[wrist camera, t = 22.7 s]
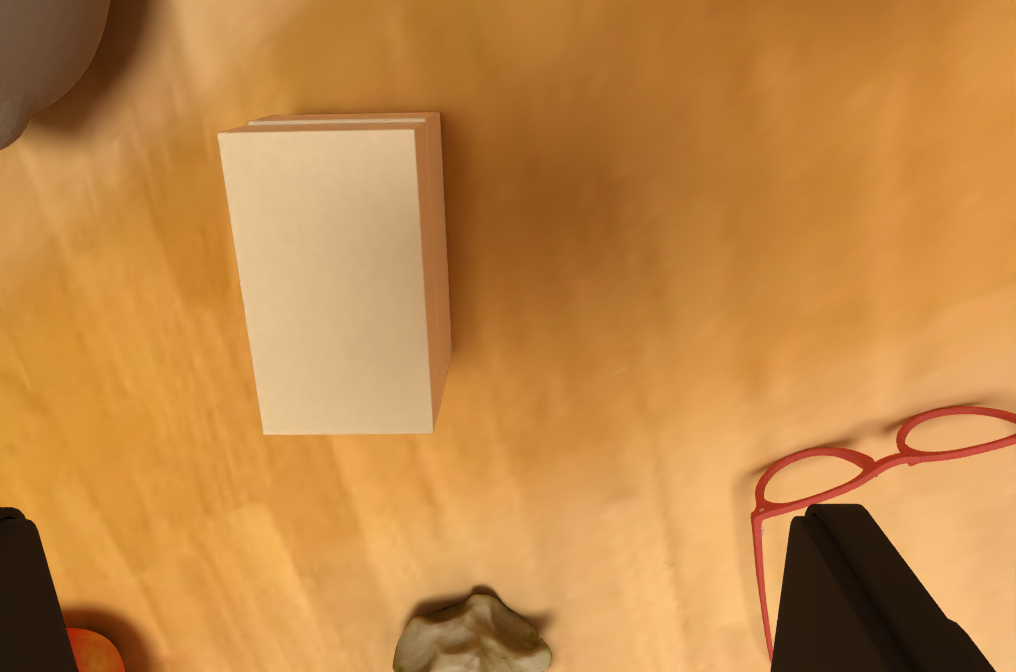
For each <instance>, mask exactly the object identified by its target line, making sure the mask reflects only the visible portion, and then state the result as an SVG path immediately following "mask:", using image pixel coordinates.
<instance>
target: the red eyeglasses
mask: <svg viewBox="0 0 1016 672" xmlns="http://www.w3.org/2000/svg"><path fill="white" fill-rule="evenodd" d="M955 414H976V415H985V416H991V417H996V418H1000V419H1004V420H1007V421H1010V422H1012V423H1015V424H1016V414H1014V413H1010V412H1007V411H1003V410H998V409H992V408H984V407H950V408H942V409H937V410H933V411H929V412H926V413H923V414H920V415H918V416H916V417H914V418H912V419H910V420H909V421H907V422H906V423H905V424H904V425H903V426H902V427H901V428H900V429H899V431H898V434H897V438H896V442H897V447H898V450H899V451H900V453H898V454H893V455H890V456H887V457H885V458H882V459H880V460H878V461H876V462H874V459H873V458H871V457H869V456H867V455H865V454H862V453H860V452H857V451H854V450H849V449H844V448H834V447H827V448H815V449H809V450H805V451H801V452H798V453H795V454H792V455H790V456H788V457H785V458H784V459H782V460H780V461H778V462H777V463H775V464H774V465H773V466H771V467H770V468H769V469H768V470H767V471H766V472H765V473H764V474H763V475H762V477H761V478H760V480H759V481H758V484H757V486H756V490H755V498H756V508H755V510H754V511H753V512H752V513H751V523H752V532H753V543H754V555H755V566H756V575H757V582H758V589H759V596H760V603H761V611H762V618H763V624H764V631H765V637H766V643H767V648H768V652H769V657H770V661H771V664H772V657H773V647H772V641H771V634H770V626H769V619H768V611H767V604H766V595H765V584H764V570H763V553H762V535H763V533H764V529H763V526H762V521H763V520H764V519H766V518H769V517H773V516H777V515H780V514H784V513H788V512H791V511H795V510H798V509H801V508H804V507H807V506H810V505H811V504H816V503H819V502H822V501H825V500H828V499H831V498H834V497H836V496H839V495H841V494H844V493H847V492H849V491H851V490H853V489H855V488H857V487H859V486H861V485H863V484H864V483H866V482H867V481H869V480H871V479H872V478H874V477H877V476H878V475H879V474H880V473H882V472H883V471H885V470H887V469H889V468H891V467H893V466H897V465H900V464H904V463H908V465H909V466H913V465H915V464H918V463H921V462H932V461H942V460H950V459H957V458H962V457H967V456H971V455H975V454H980V453H984V452H988V451H992V450H996V449H999V448H1003V447H1007V446H1010V445H1014V444H1016V434H1014V435H1011V436H1008V437H1005V438H1002V439H999V440H996V441H992V442H988V443H985V444H980V445H976V446H972V447H967V448H962V449H957V450H950V451H942V452H925V451H918V450H915V449H912V448H910V447H908V446H907V445H906V444H905V438H906V436H907V434H908V433H909V432H910V430H911V429H912V428H914V427H915V426H916V425H918V424H919V423H921V422H923V421H926V420H928V419H932V418H936V417H940V416H946V415H955ZM820 455H825V456H835V457H839V458H842V459H845V460H847V461H850V462H852V463H854V464H856V465H857V466H859V467H860V468H862V469H863V471H862V472H861V473H860V474H859V475H858V476H857V477H856V478H854V479H852V480H851V481H849V482H847V483H845V484H843V485H840V486H838V487H835V488H833V489H830V490H828V491H825V492H823V493H820V494H817V495H814V496H811V497H807V498H804V499H801V500H797V501H793V502H789V503H772V502H769V501H766V500H765V499H764V490H765V487H766V485H767V483H768V481H769V480H770V479H771V477H772V476H773V475H774V474H775V473H776V472H778V471H779V470H780V469H782V468H783V467H785V466H787V465H788V464H790V463H792V462H795V461H797V460H800V459H803V458H807V457H811V456H820Z"/></svg>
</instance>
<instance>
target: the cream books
mask: <svg viewBox="0 0 1016 672" xmlns="http://www.w3.org/2000/svg"><path fill="white" fill-rule="evenodd" d="M382 122H425V125H426V143H427V160H428V177H429V195H430V212H431V229H432V246H433V264H434V281H435V298H436V316H437V333H438V350H439V367H440V385H441V397H442V394H443V389H444V385H445V381H446V377H447V373H448V366H449V362H450V358H451V354H452V340H451V320H450V300H449V280H448V261H447V241H446V221H445V201H444V181H443V162H442V142H441V122H440V113H439V112H408V113H357V114H305V115H272V116H267V117H263V118H259V119H255V120H251V121H248V123H247V124H248V125H280V124H331V123H382Z"/></svg>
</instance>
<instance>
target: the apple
mask: <svg viewBox="0 0 1016 672" xmlns="http://www.w3.org/2000/svg"><path fill="white" fill-rule="evenodd" d="M66 629H67V633H68V636H69V640H70V643H71V647H72V650H73V653H74V657H75V660H76V664H77V667H78V671H79V672H125V668H124V664H123V661H122V658H121V656H120V654H119V652H118V650H117V649H116V647H115V646H114V645H113V644H112V643H111V642H110V641H109V640H108V639H107V638H105V637H104V636H102V635H100V634H98V633H96V632H93V631H90V630H85V629H78V628H66Z"/></svg>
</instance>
